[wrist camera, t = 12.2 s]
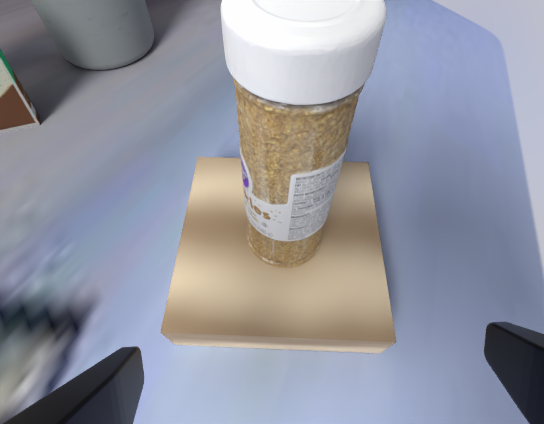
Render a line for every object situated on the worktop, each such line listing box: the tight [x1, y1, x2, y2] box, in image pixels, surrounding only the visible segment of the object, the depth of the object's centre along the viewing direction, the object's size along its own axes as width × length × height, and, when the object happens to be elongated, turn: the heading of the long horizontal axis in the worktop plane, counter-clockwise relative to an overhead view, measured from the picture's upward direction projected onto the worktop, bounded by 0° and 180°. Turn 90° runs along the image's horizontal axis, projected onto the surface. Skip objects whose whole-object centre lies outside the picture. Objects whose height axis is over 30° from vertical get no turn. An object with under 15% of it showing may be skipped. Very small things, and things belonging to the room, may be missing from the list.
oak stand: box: [161, 157, 396, 353], centre depth 22 cm, size 12×12×3 cm
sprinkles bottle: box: [221, 0, 386, 268], centre depth 15 cm, size 5×5×13 cm
